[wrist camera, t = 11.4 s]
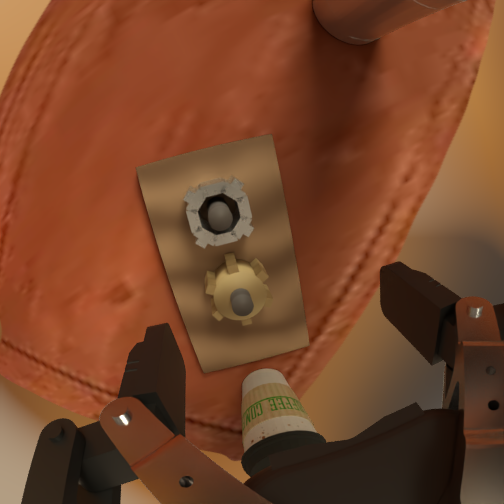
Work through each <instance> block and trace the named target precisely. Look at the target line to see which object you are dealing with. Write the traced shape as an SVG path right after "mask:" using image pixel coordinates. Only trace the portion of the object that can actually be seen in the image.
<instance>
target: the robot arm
mask: <svg viewBox="0 0 504 504" xmlns="http://www.w3.org/2000/svg"><path fill="white" fill-rule="evenodd" d="M463 1H466V0H313V9H314V13H315V16H316V17H317V19H318V21H319V23H320V24H321V25H322V26H323V28H324V29H325V30H326V31H328V32H329V33H330V34H331V35H333V36H334V37H336V38H337V39H339V40H341V41H343V42H346V43H350V44H356V45H361V44H367V43H370V42H372V41H374V40H377V39H379V38H381V37H382V36H384V35H386V34H388V33H391V32H393V31H395V30H397V29H399V28H401V27H403V26H405V25H408V24H410V23H412V22H414V21H416V20H419V19H421V18H423V17H426V16H428V15H430V14H433V13H435V12H437V11H440V10H442V9H445V8H447V7H450V6H452V5H455V4H458V3H460V2H463ZM380 302H381V308H382V312H383V314H384V316H385V317H386V318H387V319H388V320H389V321H390V322H391V323H392V324H393V325H394V326H395V327H396V328H397V329H398V330H399V331H400V332H401V333H402V335H403V336H404V337H405V338H406V339H407V340H408V341H409V342H410V343H411V344H412V345H413V346H414V347H415V348H416V349H417V350H418V351H419V352H420V354H421V355H423V357H425V359H426V360H427V361H428V362H429V363H430V364H431V365H434V364H436V363H438V362H440V361H442V360H444V361H445V362H446V364H445V367H444V384H443V399H442V409H431V410H424V411H423V410H422V409H421V408H420V407H419V405H418V404H417V403H416V402H415V403H413V404H411V405H409V406H407V407H405V408H403V409H401V410H398V411H396V412H394V413H392V414H390V415H387V416H385V417H383V418H382V419H380V420H379V421H378V422H376V423H375V424H373V425H372V426H370V427H369V428H367V429H366V430H365V431H363V432H361V433H360V434H358V435H357V436H355V437H354V438H351V439H348V440H342V441H335V442H327V443H318V444H308V445H305V446H301V447H298V448H294V449H291V450H287V451H283V452H280V453H276V454H272V455H268V456H269V460H270V464H271V466H269V467H267V468H265V469H263V470H261V471H260V472H258V473H256V474H255V475H253V476H252V477H251V478H250V479H248V480H247V481H246V482H245V483H244V484H243V483H242V482H240V481H239V480H237V479H236V478H235V477H233V476H232V475H231V474H229V473H228V472H227V471H225V470H224V469H223V468H221V467H220V466H219V465H217V464H216V463H215V462H214V461H212V460H211V459H210V458H209V457H207V456H206V455H205V454H204V453H202V452H201V451H200V450H199V449H198V448H196V447H195V446H194V445H193V444H192V443H190V442H189V441H188V440H187V439H186V438H185V381H186V371H185V365H184V361H183V358H182V355H181V353H180V350H179V348H178V345H177V343H176V340H175V338H174V335H173V333H172V330H171V328H170V326H169V324H168V323H164V324H159V325H155V326H150V327H147V329H146V334H145V338H144V342H140V343H137V344H136V345H135V346H134V348H133V349H132V350H131V351H130V353H129V356H128V360H127V364H126V367H125V372H124V375H123V379H122V383H121V387H120V391H119V395H118V399H116V400H114V401H112V402H110V403H109V404H108V405H106V406H105V408H104V409H103V410H102V412H101V414H100V418H99V421H97V422H95V423H92V424H89V425H86V426H83V427H81V428H77V426H76V425H75V424H74V423H73V422H72V421H71V420H69V419H64V418H62V419H57V420H54V421H52V422H51V423H49V424H48V425H47V426H46V427H45V428H44V429H43V430H42V432H41V434H40V436H39V440H38V443H37V446H36V449H35V452H34V456H33V459H32V463H31V467H30V470H29V474H28V478H27V482H26V485H25V489H24V494H23V498H22V502H21V504H120V497H121V484H124V483H127V482H130V481H133V480H136V479H140V480H141V481H142V483H143V484H144V485H145V486H146V487H147V488H148V490H149V491H150V492H151V493H152V494H153V495H154V496H155V498H156V499H157V500H158V501H159V502H160V503H161V504H504V303H503V304H499V305H494V306H492V304H491V303H490V302H489V301H487V300H485V299H483V298H480V297H465V298H460V297H459V296H458V295H456V294H455V293H453V292H452V291H450V290H449V289H447V288H446V287H444V286H443V285H441V284H440V283H439V282H437V281H436V280H434V279H433V278H431V277H430V276H428V275H427V274H426V273H423V272H419V271H416V270H412V269H411V268H409V267H408V266H406V265H405V264H403V263H402V262H395V263H392V264H389V265H386V266H383V267H381V269H380Z"/></svg>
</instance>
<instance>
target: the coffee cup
mask: <svg viewBox="0 0 504 504" xmlns="http://www.w3.org/2000/svg"><path fill="white" fill-rule="evenodd" d="M241 407H242V442H243V447H244V454H243V456H242V460H241V463H242V466H243V469H244V471H245V472H246V473H247V474H248V475H249V476H250V477H252V476H253V475H255V474H256V473H258V472H260V471H261V470H263V469H265V468H267V467H269V466H271V464H270V460H269V456H268V455H272V454H276V453H280V452H283V451H287V450H291V449H294V448H298V447H301V446H305V445H308V444H318V443H326V440H325V439H324V437H323V436H322V435H320V434H318V433H317V432H316V430H315V428H314V425H313V423H312V421H311V420H310V418H309V416H308V415H307V413H306V411H305V410H304V408H303V406H302V405H301V403H300V401H299V400H298V398H297V396H296V395H295V393H294V391H293V390H292V389H291V388H290V386H289V385H288V383H287V381H286V379H285V378H284V376H283V375H282V373H280V372H279V371H277V370H274V369H260V370H257V371H254V372H252V373H251V374H249V375H248V376H247V377H246V378H245V379H244V381H243V384H242V405H241Z"/></svg>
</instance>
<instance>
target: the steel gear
mask: <svg viewBox="0 0 504 504" xmlns="http://www.w3.org/2000/svg"><path fill="white" fill-rule="evenodd" d="M243 185H244V183H242V182H241V181H240V180H238V179H237V178H235V177H233V176H232V175H231V176H230V178H229V179H228V180H226V179H224V178H221V177H220V178H216V179H212V180H208V181H204V182H200V184H198V186H197V187H196V189H195V188H194V187H192V186H190V187H189V188H188V190H187V192H186V193H185V196H184V199H183V200H184V201H186V202H188V203H187V208H186V214H187V217H188V221H189V224H190V228H191V232H192V233H194V234H193V235H194V236H196V237H195V244H197V245H199V246H201V247H203V248H204V249H205V247H206V246H207V244H210V245H212V246H214V244H215V246H219V245H223V244H227V243H231V242H235V241H238V239H240V238H241V237H242V235H243V234H244V235H246V236H247V237H249V236H250V234H251V232H252V231H253V229H254V227H253V225H252V224H251V221H252V219H251V218H252V214H251V210H250V205H249V201H248V197H247V195H246V193H245V192H244V191H243V190H242V187H243ZM221 193H224V194H225V195H227V196H229V197H230V198H232V199H234V203H235V207H236V210H235V212H234V213H233V215H232V217H233V221H232V224H231V226H230V227H229V228H228V229H226V230H223V231H218V230H215V229H213V228H212V227H211V226H210V224H209V222H208V221H206V220H204V219H203V218H202V217H201V213H200V210H199V208H200V207H201V205H202V203H203V202H204V200H205V198H206V197H209V196H213V195H217V194H221ZM237 238H238V239H237Z"/></svg>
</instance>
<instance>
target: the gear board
mask: <svg viewBox="0 0 504 504" xmlns="http://www.w3.org/2000/svg"><path fill="white" fill-rule="evenodd" d="M136 171H137V175H138V178H139V182H140V186H141V190H142V193H143V197H144V201H145V204H146V208H147V211H148V215H149V218H150V222H151V225H152V228H153V232H154V235H155V238H156V241H157V245H158V248H159V251H160V254H161V257H162V260H163V263H164V267H165V270H166V273H167V276H168V279H169V282H170V284H171V287H172V290H173V293H174V296H175V299H176V302H177V305H178V307H179V310H180V313H181V316H182V318H183V321H184V324H185V326H186V329H187V332H188V334H189V337H190V340H191V342H192V345H193V347H194V350H195V353H196V355H197V358H198V360H199V363H200V365H201V368H202V370H203V372H204V373H208V372H212V371H217V370H221V369H225V368H229V367H234V366H238V365H242V364H246V363H249V362H253V361H257V360H261V359H265V358H268V357H272V356H275V355H279V354H282V353H286V352H289V351H293V350H296V349H300V348H303V347H306V346H309V338H308V331H307V324H306V318H305V311H304V305H303V299H302V292H301V286H300V280H299V274H298V268H297V262H296V256H295V251H294V245H293V239H292V234H291V228H290V223H289V217H288V212H287V207H286V201H285V196H284V191H283V186H282V181H281V176H280V171H279V166H278V161H277V156H276V151H275V146H274V142H273V137H272V134H269V135H263V136H258V137H253V138H249V139H244V140H239V141H235V142H230V143H226V144H221V145H217V146H213V147H209V148H205V149H201V150H197V151H193V152H189V153H185V154H181V155H178V156H174V157H170V158H167V159H163V160H160V161H156V162H153V163H149V164H146V165H143V166H139V167H136ZM231 175H232V176H233V177H235V178H237V179H238V180H240V181H241V182H242V183H244V185H243V187H242V190H243V191H244V192H245V193H246V195H247V197H248V201H249V205H250V210H251V214H252V218H251V219H252V221H251V224H252V225H253V227H254V229H253V231H252V232H251V234H250V236H249V237H247V236H246V235H244V234H243V235H242V237H241V238H240V239H238V238H237V239H238V241H235V242H231V243H227V244H223V245H219V246H215V244H214V246H212V245H210V244H207V246H206V247H205V249H204V248H203V247H201V246H199V245H197V244H195V237H196V236H194V235H193V234H194V233H192V232H191V228H190V224H189V221H188V217H187V214H186V208H187V203H188V202H186V201H184V200H183V199H184V196H185V193H186V192H187V190H188V188H189V187H190V186H192V187H194V188H195V189H196V187H197V186H198V184H200V182H204V181H208V180H212V179H216V178H220V177H221V178H224V179H226V180H228V179H229V178H230V176H231ZM199 210H200V213H201V217H202V218H203V219H204V220H206V221H208V222H209V224H210V226H211V227H212V228H213V229H215V230H218V231H223V230H226V229H228V228H229V227H230V226H231V224H232V221H233V217H232V215H233V213H234V212H235V210H236V207H235V203H234V199H232V198H230V197H229V196H227V195H225V194H224V193H221V194H217V195H213V196H209V197H206V198H205V200H204V202H203V203H202V205H201V207H200V208H199Z"/></svg>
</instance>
